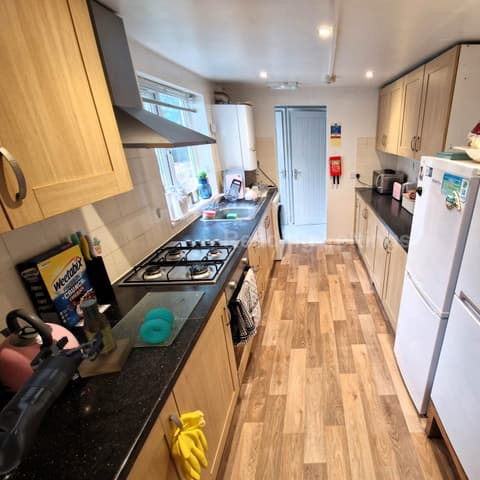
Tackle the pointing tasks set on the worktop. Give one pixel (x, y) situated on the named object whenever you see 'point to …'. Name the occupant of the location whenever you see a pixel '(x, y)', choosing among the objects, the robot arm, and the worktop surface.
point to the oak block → (107, 360)
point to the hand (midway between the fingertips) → (83, 335)
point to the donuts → (157, 325)
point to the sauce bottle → (97, 326)
